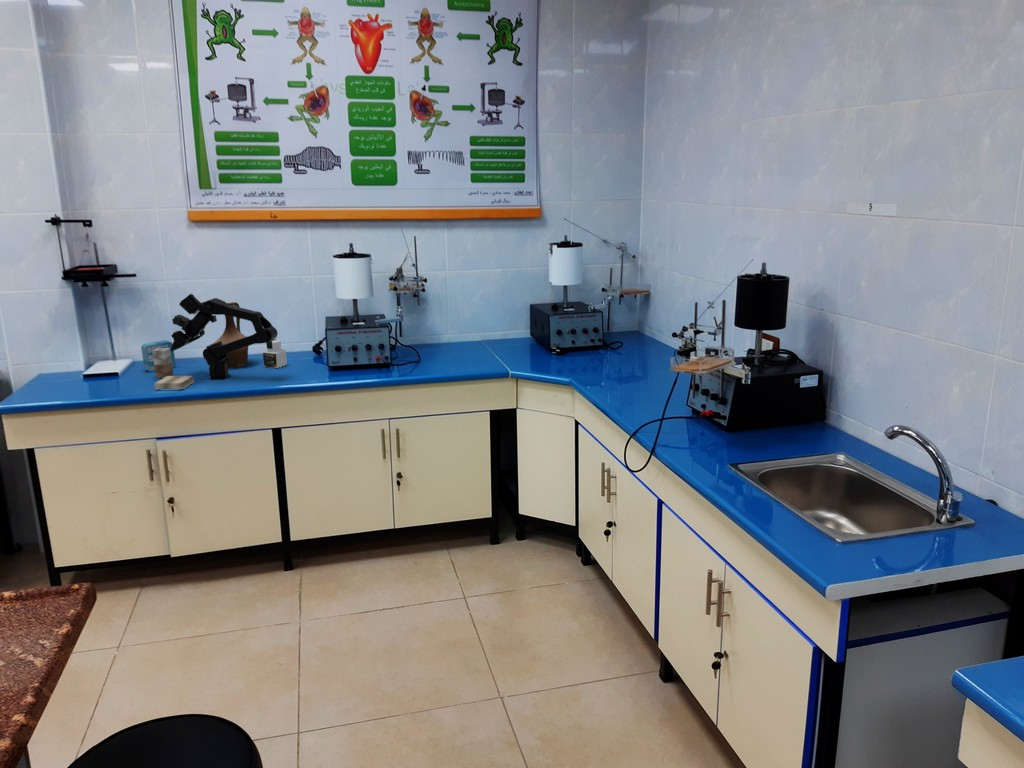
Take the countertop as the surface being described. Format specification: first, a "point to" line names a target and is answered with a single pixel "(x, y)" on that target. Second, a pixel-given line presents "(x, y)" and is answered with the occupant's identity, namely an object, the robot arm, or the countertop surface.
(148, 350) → the data package
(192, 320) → the robot arm
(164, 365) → the gray square block
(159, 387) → the beige square block
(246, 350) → the pitcher
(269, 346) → the medicine bottle
